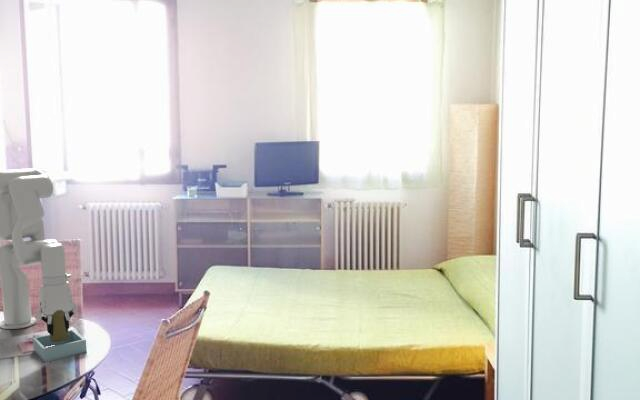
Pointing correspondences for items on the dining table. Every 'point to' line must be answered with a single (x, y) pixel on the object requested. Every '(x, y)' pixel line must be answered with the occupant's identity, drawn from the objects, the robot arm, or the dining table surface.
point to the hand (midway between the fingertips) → (58, 332)
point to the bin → (59, 346)
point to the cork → (58, 327)
